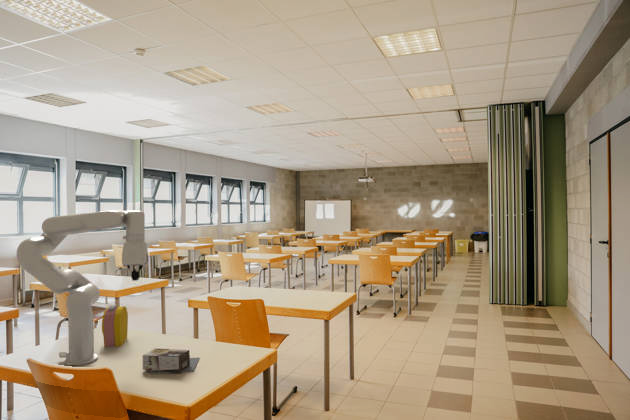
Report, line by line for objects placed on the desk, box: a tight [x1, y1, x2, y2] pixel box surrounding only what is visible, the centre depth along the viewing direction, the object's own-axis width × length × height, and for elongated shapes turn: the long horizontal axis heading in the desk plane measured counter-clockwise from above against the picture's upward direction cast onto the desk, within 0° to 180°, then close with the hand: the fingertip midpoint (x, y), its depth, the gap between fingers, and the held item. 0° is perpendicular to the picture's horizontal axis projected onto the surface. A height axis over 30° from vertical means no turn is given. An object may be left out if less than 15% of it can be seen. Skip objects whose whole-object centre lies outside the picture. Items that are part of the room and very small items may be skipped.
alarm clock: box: [101, 304, 129, 348], centre depth 206 cm, size 15×8×18 cm, turn 10°
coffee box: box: [142, 348, 191, 373], centre depth 171 cm, size 9×6×16 cm
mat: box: [149, 357, 200, 375], centre depth 174 cm, size 17×15×1 cm
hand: (135, 280), depth 185 cm, fingers closed
